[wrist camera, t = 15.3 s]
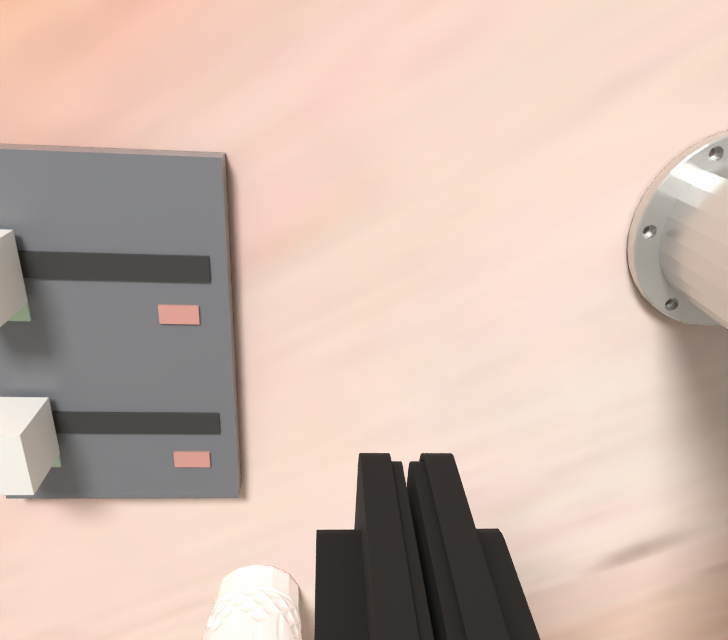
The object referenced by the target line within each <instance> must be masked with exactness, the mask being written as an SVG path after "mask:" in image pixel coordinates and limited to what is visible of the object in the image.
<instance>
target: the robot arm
mask: <svg viewBox="0 0 728 640" xmlns="http://www.w3.org/2000/svg"><path fill="white" fill-rule="evenodd" d="M709 152H710V153H709ZM645 227H646V228H645ZM644 228H645V230H644ZM643 230H644V231H643ZM627 252H628V262H629V269H630V272H631V275H632V278H633V281H634V283H635V285H636V286H637V288H638V290H639V291H640V293H641V294H642V296H643V297H644V298H645V299H646V300H647V301H648V302H649V303H650V304H651V305H652V306H654V307H655V308H656V309H657V310H659V311H660V312H661V313H663V314H664V315H666V316H668V317H670V318H672V319H675V320H677V321H679V322H683V323H688V324H692V325H706V326H714V325H722V326H723V327H725V328H726V329H727V330H728V130H727V131H724V132H721V133H718V134H715V135H712V136H710V137H708V138H706V139H704V140H702V141H700V142H698V143H697V144H695V145H693V146H691V147H689V148H688V149H687V150H685V151H684V152H683V153H681V154H680V155H679V156H678V157H676V158H675V159H674V160H672V161H671V162H670V163H669V164H668V165H667V166H666V167H665V168H664V170H663V171H662V172H661V173H660V174H659V175H658V176H657V177H656V178H655V180H654V181H653V182H652V184H651V185H650V187H649V188H648V189H647V191H646V192H645V194H644V195H643V197H642V199H641V201H640V204H639V206H638V208H637V210H636V212H635V214H634V217H633V221H632V224H631V228H630V231H629V239H628V248H627ZM315 640H540V638H539V635H538V632H537V629H536V626H535V624H534V621H533V618H532V615H531V612H530V610H529V607H528V604H527V601H526V598H525V595H524V593H523V590H522V587H521V584H520V581H519V579H518V576H517V573H516V570H515V567H514V565H513V562H512V559H511V556H510V553H509V551H508V548H507V545H506V542H505V539H504V537H503V535H502V533H501V532H500V531H499V529H476V528H475V524H474V521H473V518H472V514H471V511H470V508H469V505H468V501H467V498H466V495H465V492H464V488H463V485H462V482H461V479H460V475H459V472H458V469H457V465H456V462H455V459H454V456H453V455H452V454H451V453H422V454H421V456H420V460H419V461H411V462H410V463H409V468H408V478H407V488H406V482H405V477H404V471H403V466H402V462H401V461H391V457H390V454H389V453H360V454H359V460H358V477H357V494H356V512H355V529H354V530H317V534H316V583H315Z"/></svg>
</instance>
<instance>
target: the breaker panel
mask: <svg viewBox="0 0 728 640" xmlns="http://www.w3.org/2000/svg"><path fill="white" fill-rule="evenodd" d="M0 229H6V230H13V231H14V236H15V241H16V246H17V251H18V256H19V260H20V265H21V270H22V275H23V280H24V285H25V289H26V294H27V299H28V303H27V304H26V305H24V306H23V307H22V308H21V309H20V310H19V311H18V312H17V313H16V314H14V315H13V316H12V317H11V318H10V319H9V320H8V321H7V322H6V323H4V324H3V325H2V326H1V327H0V397H49V402H50V406H51V411H52V416H53V421H54V426H55V431H56V435H57V440H58V445H59V450H60V454H59V456H58V458H57V459H56V461H55V462H54V464H53V466H52V467H51V469H50V470H49V472H48V474H47V475H46V477H45V478H44V480H43V481H42V483H41V485H40V486H39V488H38V489H37V491H36V493H35V494H34V495H6V498H239V493H240V487H241V470H240V449H239V428H238V407H237V386H236V365H235V344H234V323H233V302H232V280H231V259H230V238H229V217H228V196H227V175H226V154H225V153H219V152H194V151H169V150H144V149H119V148H95V147H70V146H45V145H20V144H0Z"/></svg>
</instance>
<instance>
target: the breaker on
mask: <svg viewBox="0 0 728 640" xmlns="http://www.w3.org/2000/svg"><path fill="white" fill-rule="evenodd" d="M59 454H60V450H59V445H58V440H57V435H56V431H55V426H54V421H53V416H52V411H51V406H50V402H49V397H0V495H34V494H35V493H36V491H37V489H38V488H39V486H40V485H41V483H42V481H43V480H44V478H45V477H46V475H47V474H48V472H49V470H50V469H51V467H52V466H53V464H54V462H55V461H56V459H57V458H58V456H59Z"/></svg>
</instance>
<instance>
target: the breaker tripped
mask: <svg viewBox="0 0 728 640" xmlns="http://www.w3.org/2000/svg"><path fill="white" fill-rule="evenodd" d="M27 303H28V299H27V294H26V289H25V285H24V280H23V275H22V270H21V265H20V260H19V256H18V251H17V246H16V241H15V236H14V231H13V230H6V229H0V327H1V326H2V325H3V324H4V323H6V322H7V321H8V320H9V319H10V318H11V317H12V316H13V315H14V314H16V313H17V312H18V311H19V310H20V309H21V308H22V307H23V306H24V305H26V304H27Z"/></svg>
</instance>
